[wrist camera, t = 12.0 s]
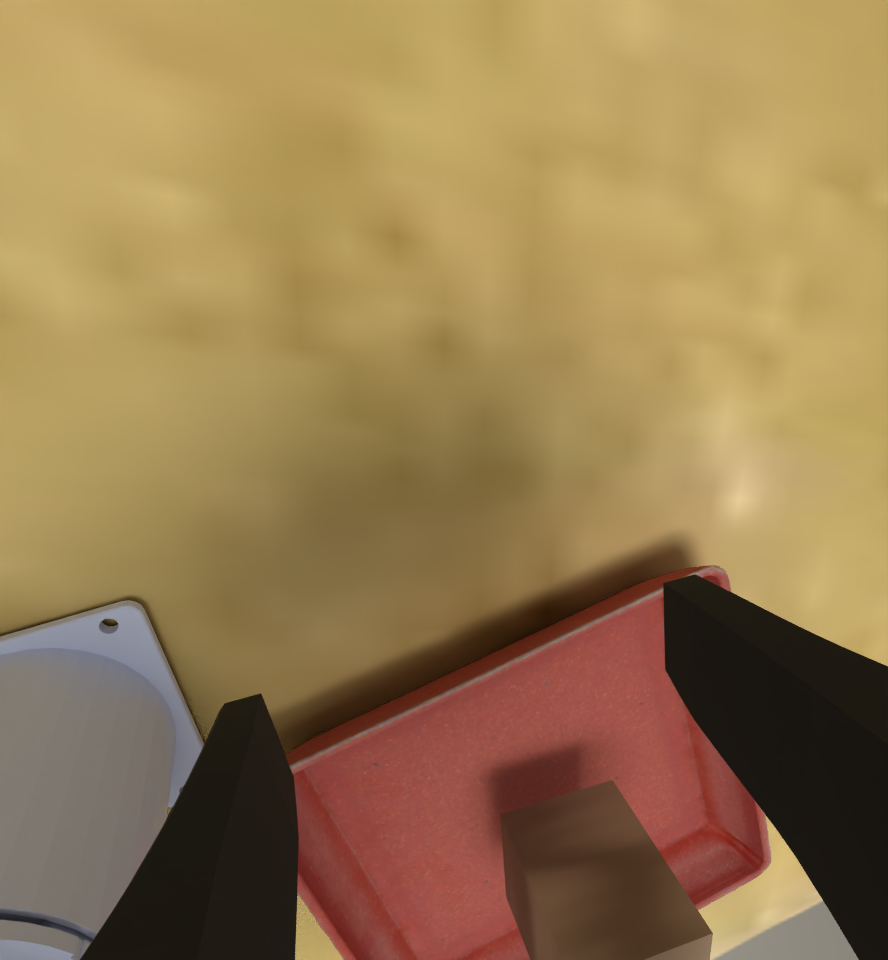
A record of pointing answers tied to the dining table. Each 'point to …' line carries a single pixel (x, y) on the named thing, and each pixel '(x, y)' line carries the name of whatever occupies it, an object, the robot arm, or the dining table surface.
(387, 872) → the plant saucer
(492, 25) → the dining table surface
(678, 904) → the walnut block
